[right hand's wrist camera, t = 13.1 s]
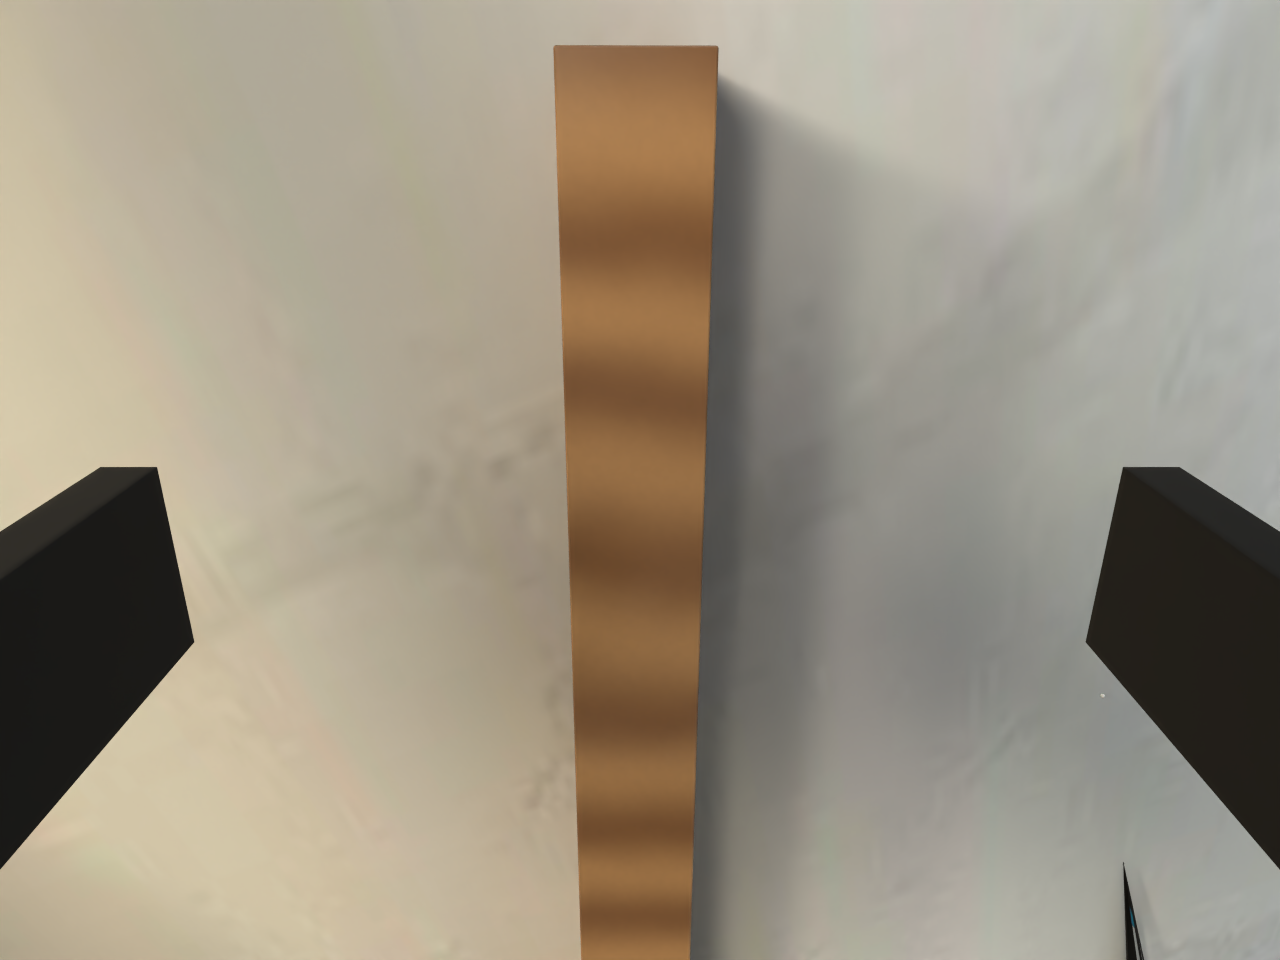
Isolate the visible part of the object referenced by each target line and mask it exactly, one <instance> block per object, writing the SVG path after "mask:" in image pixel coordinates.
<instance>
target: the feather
mask: <svg viewBox="0 0 1280 960" xmlns="http://www.w3.org/2000/svg"><path fill="white" fill-rule="evenodd" d="M1100 696H1101V698H1104V697H1105V695H1104V694H1101V695H1100ZM1124 864H1125V863H1124V862H1123V867H1124ZM1124 897H1125V926H1126V956H1127V960H1137V957H1136V950H1135V942H1134V935H1133V927H1132V925H1133V926H1134V928H1135V933H1136V939H1137V945H1138V950H1139V956H1140V960H1142V959H1143V960H1144V957H1143V952H1142V948H1141V943H1140V938H1139V934H1138V929H1137V924H1136V919H1135V915H1134V910H1133V905H1132V901H1131V896H1130V891H1129V886H1128V882H1127V877H1126V872H1125V868H1124ZM1139 944H1140V945H1139ZM1140 949H1141V951H1140ZM1141 954H1142V957H1141Z"/></svg>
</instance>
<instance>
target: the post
mask: <svg viewBox="0 0 1280 960" xmlns="http://www.w3.org/2000/svg"><path fill="white" fill-rule="evenodd" d="M554 79H555V112H556V144H557V177H558V210H559V243H560V276H561V308H562V341H563V374H564V407H565V439H566V472H567V505H568V538H569V571H570V603H571V636H572V669H573V702H574V734H575V767H576V800H577V833H578V866H579V898H580V931H581V960H690V945H691V913H692V881H693V849H694V817H695V785H696V753H697V721H698V688H699V656H700V624H701V592H702V560H703V528H704V496H705V464H706V432H707V400H708V368H709V336H710V304H711V272H712V240H713V208H714V176H715V144H716V112H717V80H718V46H637V45H555V46H554Z"/></svg>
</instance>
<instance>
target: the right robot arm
mask: <svg viewBox="0 0 1280 960" xmlns="http://www.w3.org/2000/svg"><path fill="white" fill-rule="evenodd" d="M193 643H194V638H193V634H192V629H191V624H190V620H189V615H188V610H187V606H186V601H185V596H184V591H183V587H182V582H181V577H180V573H179V568H178V563H177V559H176V554H175V549H174V545H173V540H172V535H171V531H170V526H169V521H168V517H167V512H166V507H165V503H164V498H163V493H162V489H161V484H160V479H159V475H158V470H157V467H100V468H99V469H97V470H95V471H94V472H92V473H91V474H89V475H88V476H86V477H85V478H83V479H81V480H80V481H78V482H77V483H75V484H74V485H72V486H71V487H69V488H67V489H66V490H64V491H63V492H61V493H60V494H58V495H57V496H55V497H53V498H52V499H50V500H49V501H47V502H46V503H44V504H43V505H41V506H39V507H38V508H36V509H35V510H33V511H32V512H30V513H29V514H27V515H26V516H24V517H22V518H21V519H19V520H18V521H16V522H15V523H13V524H12V525H10V526H8V527H7V528H5V529H4V530H2V531H1V532H0V869H1V868H2V867H3V866H4V864H5V863H6V862H7V861H8V860H9V859H10V857H11V856H12V855H13V854H14V853H15V851H16V850H17V849H18V848H19V847H20V846H21V844H22V843H23V842H24V841H25V840H26V839H27V837H28V836H29V835H30V834H31V833H32V832H33V830H34V829H35V828H36V827H37V826H38V825H39V823H40V822H41V821H42V820H43V819H44V818H45V816H46V815H47V814H48V813H49V812H50V810H51V809H52V808H53V807H54V806H55V805H56V803H57V802H58V801H59V800H60V799H61V798H62V796H63V795H64V794H65V793H66V792H67V791H68V789H69V788H70V787H71V786H72V785H73V784H74V782H75V781H76V780H77V779H78V778H79V777H80V775H81V774H82V773H83V772H84V771H85V769H86V768H87V767H88V766H89V765H90V764H91V762H92V761H93V760H94V759H95V758H96V757H97V755H98V754H99V753H100V752H101V751H102V750H103V748H104V747H105V746H106V745H107V744H108V743H109V741H110V740H111V739H112V738H113V737H114V735H115V734H116V733H117V732H118V731H119V730H120V728H121V727H122V726H123V725H124V724H125V723H126V721H127V720H128V719H129V718H130V717H131V716H132V714H133V713H134V712H135V711H136V710H137V709H138V707H139V706H140V705H141V704H142V703H143V702H144V700H145V699H146V698H147V697H148V696H149V694H150V693H151V692H152V691H153V690H154V689H155V687H156V686H157V685H158V684H159V683H160V682H161V680H162V679H163V678H164V677H165V676H166V675H167V673H168V672H169V671H170V670H171V669H172V668H173V666H174V665H175V664H176V663H177V662H178V661H179V659H180V658H181V657H182V656H183V655H184V653H185V652H186V651H187V650H188V649H189V648H190V646H191V645H192V644H193ZM1086 643H1087V644H1088V645H1089V646H1090V648H1091V649H1092V650H1093V651H1094V652H1095V653H1096V655H1097V656H1098V657H1099V658H1100V659H1101V661H1102V662H1103V663H1104V664H1105V665H1106V666H1107V668H1108V669H1109V670H1110V671H1111V672H1112V673H1113V675H1114V676H1115V677H1116V678H1117V679H1118V680H1119V682H1120V683H1121V684H1122V685H1123V686H1124V687H1125V689H1126V690H1127V691H1128V692H1129V693H1130V694H1131V696H1132V697H1133V698H1134V699H1135V700H1136V702H1137V703H1138V704H1139V705H1140V706H1141V707H1142V709H1143V710H1144V711H1145V712H1146V713H1147V714H1148V716H1149V717H1150V718H1151V719H1152V720H1153V721H1154V723H1155V724H1156V725H1157V726H1158V727H1159V728H1160V730H1161V731H1162V732H1163V733H1164V734H1165V735H1166V737H1167V738H1168V739H1169V740H1170V741H1171V743H1172V744H1173V745H1174V746H1175V747H1176V748H1177V750H1178V751H1179V752H1180V753H1181V754H1182V755H1183V757H1184V758H1185V759H1186V760H1187V761H1188V762H1189V764H1190V765H1191V766H1192V767H1193V768H1194V769H1195V771H1196V772H1197V773H1198V774H1199V775H1200V777H1201V778H1202V779H1203V780H1204V781H1205V782H1206V784H1207V785H1208V786H1209V787H1210V788H1211V789H1212V791H1213V792H1214V793H1215V794H1216V795H1217V796H1218V798H1219V799H1220V800H1221V801H1222V802H1223V803H1224V805H1225V806H1226V807H1227V808H1228V809H1229V810H1230V812H1231V813H1232V814H1233V815H1234V816H1235V818H1236V819H1237V820H1238V821H1239V822H1240V823H1241V825H1242V826H1243V827H1244V828H1245V829H1246V830H1247V832H1248V833H1249V834H1250V835H1251V836H1252V837H1253V839H1254V840H1255V841H1256V842H1257V843H1258V844H1259V846H1260V847H1261V848H1262V849H1263V850H1264V851H1265V853H1266V854H1267V855H1268V856H1269V857H1270V859H1271V860H1272V861H1273V862H1274V863H1275V864H1276V866H1277V867H1278V868H1279V869H1280V532H1279V531H1278V530H1276V529H1275V528H1273V527H1272V526H1270V525H1268V524H1267V523H1265V522H1264V521H1262V520H1261V519H1259V518H1258V517H1256V516H1254V515H1253V514H1251V513H1250V512H1248V511H1247V510H1245V509H1244V508H1242V507H1241V506H1239V505H1237V504H1236V503H1234V502H1233V501H1231V500H1230V499H1228V498H1227V497H1225V496H1223V495H1222V494H1220V493H1219V492H1217V491H1216V490H1214V489H1213V488H1211V487H1209V486H1208V485H1206V484H1205V483H1203V482H1202V481H1200V480H1199V479H1197V478H1195V477H1194V476H1192V475H1191V474H1189V473H1188V472H1186V471H1185V470H1183V469H1181V468H1180V467H1123V470H1122V474H1121V479H1120V484H1119V489H1118V493H1117V498H1116V503H1115V507H1114V512H1113V517H1112V521H1111V526H1110V531H1109V535H1108V540H1107V545H1106V549H1105V554H1104V559H1103V563H1102V568H1101V573H1100V577H1099V582H1098V587H1097V591H1096V596H1095V601H1094V606H1093V610H1092V615H1091V620H1090V624H1089V629H1088V634H1087V638H1086Z"/></svg>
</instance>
